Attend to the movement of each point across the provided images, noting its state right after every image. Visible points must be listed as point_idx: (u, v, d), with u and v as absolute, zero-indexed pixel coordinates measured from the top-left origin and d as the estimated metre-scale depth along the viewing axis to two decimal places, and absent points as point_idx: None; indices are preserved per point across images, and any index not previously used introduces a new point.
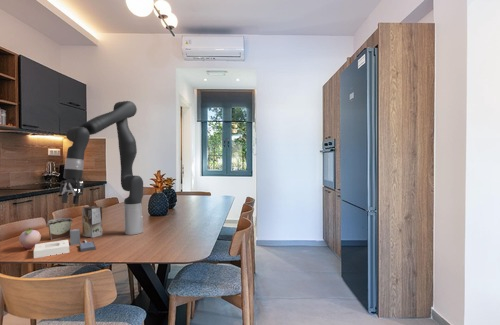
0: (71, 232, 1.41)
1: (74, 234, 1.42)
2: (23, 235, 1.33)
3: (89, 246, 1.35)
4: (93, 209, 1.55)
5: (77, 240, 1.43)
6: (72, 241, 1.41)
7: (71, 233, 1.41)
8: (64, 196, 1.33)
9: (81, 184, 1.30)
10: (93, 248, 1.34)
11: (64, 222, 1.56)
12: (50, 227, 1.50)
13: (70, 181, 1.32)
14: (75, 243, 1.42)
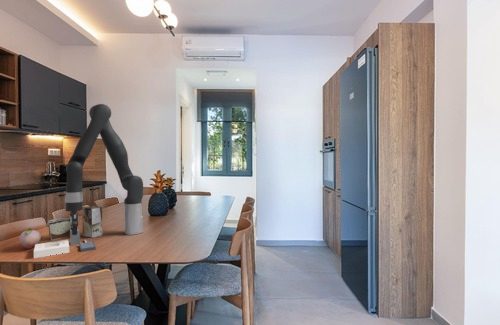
0: (71, 232, 1.41)
1: None
2: (23, 235, 1.33)
3: (89, 246, 1.35)
4: (93, 209, 1.55)
5: (77, 240, 1.43)
6: (72, 241, 1.41)
7: (71, 233, 1.41)
8: (72, 225, 1.46)
9: (75, 217, 1.38)
10: (93, 248, 1.34)
11: (64, 222, 1.56)
12: (50, 227, 1.50)
13: (71, 213, 1.42)
14: (75, 243, 1.42)
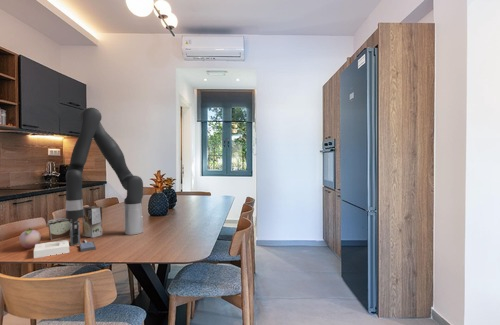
0: (71, 232, 1.41)
1: None
2: (23, 235, 1.33)
3: (89, 246, 1.35)
4: (93, 209, 1.55)
5: None
6: (72, 241, 1.41)
7: (71, 233, 1.41)
8: None
9: (76, 227, 1.39)
10: (93, 248, 1.34)
11: (64, 222, 1.56)
12: (50, 227, 1.50)
13: None
14: None
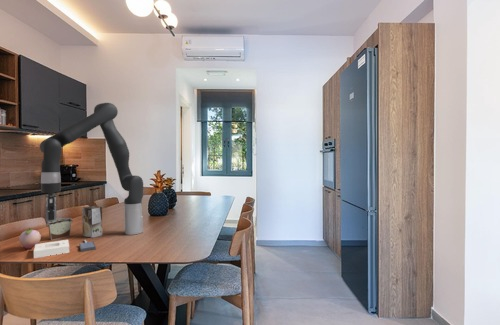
0: (46, 207, 1.29)
1: None
2: (23, 235, 1.33)
3: (89, 246, 1.35)
4: (93, 209, 1.55)
5: None
6: (47, 217, 1.29)
7: (46, 208, 1.29)
8: None
9: (51, 201, 1.26)
10: (93, 248, 1.34)
11: (64, 222, 1.56)
12: (50, 227, 1.50)
13: (48, 195, 1.31)
14: None
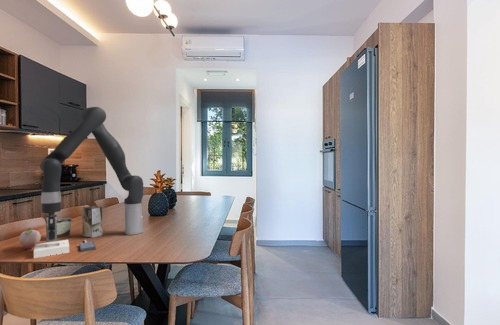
0: (47, 227, 1.29)
1: None
2: (23, 235, 1.33)
3: (89, 246, 1.35)
4: (93, 209, 1.55)
5: None
6: (48, 237, 1.29)
7: (47, 228, 1.29)
8: None
9: (52, 222, 1.26)
10: (93, 248, 1.34)
11: (64, 222, 1.56)
12: None
13: None
14: None
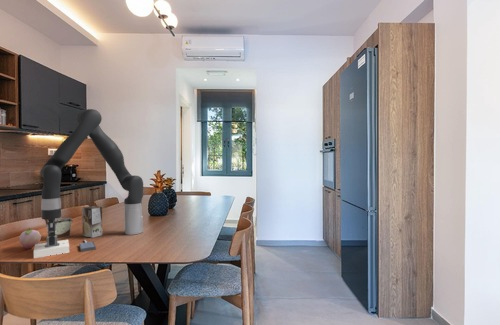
0: (47, 239, 1.29)
1: None
2: (23, 235, 1.33)
3: (89, 246, 1.35)
4: (93, 209, 1.55)
5: None
6: None
7: (47, 240, 1.29)
8: None
9: (52, 226, 1.26)
10: (93, 248, 1.34)
11: (64, 222, 1.56)
12: None
13: None
14: None
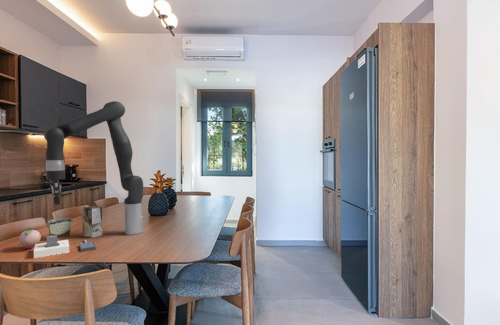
0: (47, 239, 1.29)
1: (50, 241, 1.30)
2: (23, 235, 1.33)
3: (89, 246, 1.35)
4: (93, 209, 1.55)
5: None
6: None
7: (47, 240, 1.29)
8: None
9: (56, 185, 1.31)
10: (93, 248, 1.34)
11: (64, 222, 1.56)
12: (50, 227, 1.50)
13: None
14: None
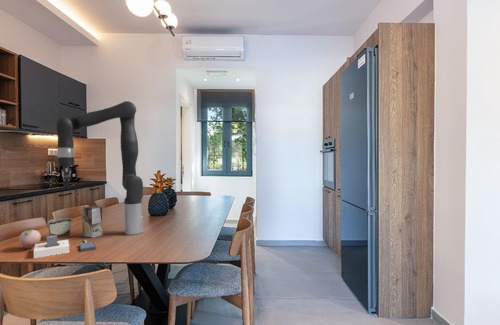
0: (47, 239, 1.29)
1: (50, 241, 1.30)
2: (23, 235, 1.33)
3: (89, 246, 1.35)
4: (93, 209, 1.55)
5: None
6: None
7: (47, 240, 1.29)
8: None
9: (67, 170, 1.43)
10: (93, 248, 1.34)
11: (64, 222, 1.56)
12: (50, 227, 1.50)
13: (63, 168, 1.48)
14: None
